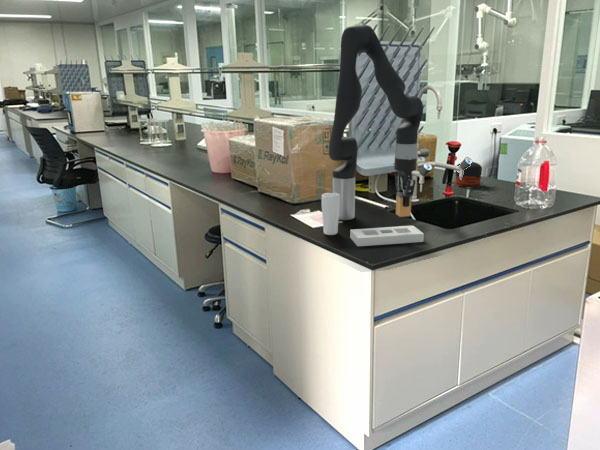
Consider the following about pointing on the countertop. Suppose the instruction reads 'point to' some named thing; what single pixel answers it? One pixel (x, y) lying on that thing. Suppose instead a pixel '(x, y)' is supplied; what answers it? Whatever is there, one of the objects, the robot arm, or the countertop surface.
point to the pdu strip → (386, 235)
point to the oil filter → (470, 176)
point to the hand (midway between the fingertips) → (403, 204)
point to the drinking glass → (330, 212)
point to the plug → (400, 209)
